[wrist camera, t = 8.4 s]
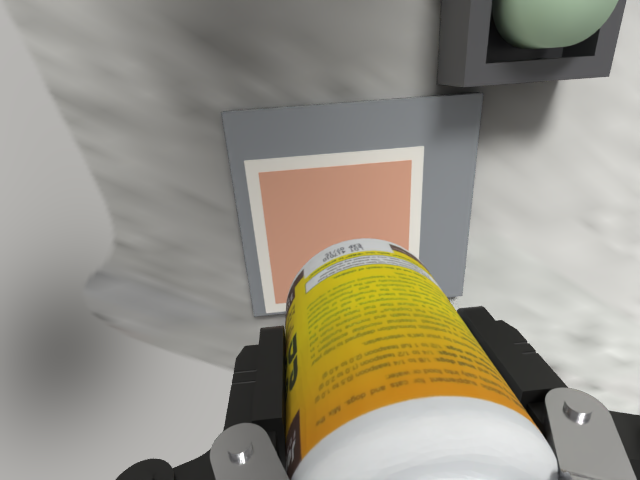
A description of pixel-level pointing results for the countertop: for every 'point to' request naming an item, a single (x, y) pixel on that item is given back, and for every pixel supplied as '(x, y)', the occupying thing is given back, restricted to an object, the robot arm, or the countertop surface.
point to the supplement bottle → (395, 379)
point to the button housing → (514, 50)
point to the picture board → (353, 184)
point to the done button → (549, 21)
